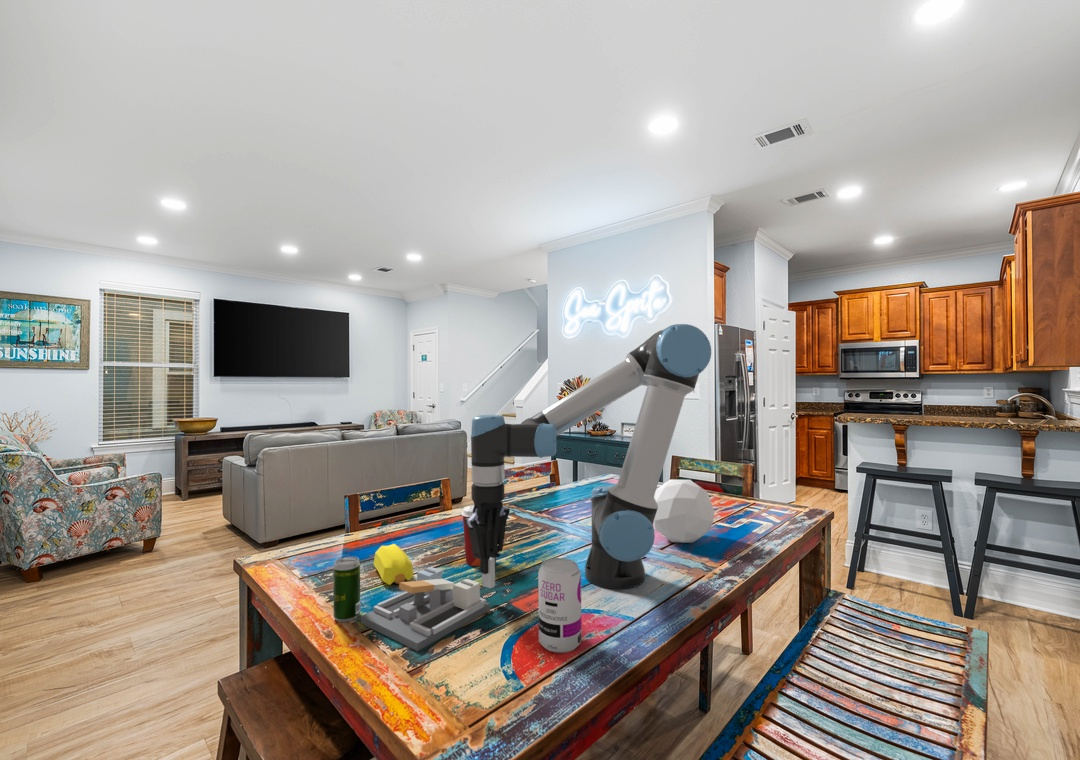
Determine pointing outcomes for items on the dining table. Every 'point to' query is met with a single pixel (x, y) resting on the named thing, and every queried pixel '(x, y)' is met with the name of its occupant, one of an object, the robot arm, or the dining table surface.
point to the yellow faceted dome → (393, 564)
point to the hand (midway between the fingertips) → (488, 585)
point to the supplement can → (559, 605)
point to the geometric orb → (683, 511)
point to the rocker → (426, 585)
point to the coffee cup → (468, 538)
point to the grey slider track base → (421, 617)
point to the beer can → (346, 589)
